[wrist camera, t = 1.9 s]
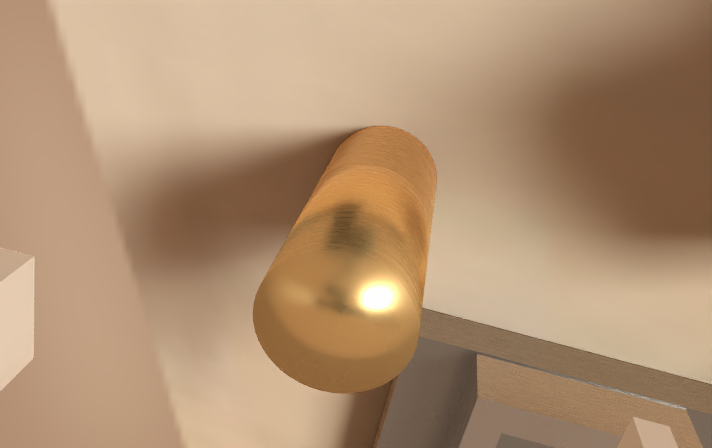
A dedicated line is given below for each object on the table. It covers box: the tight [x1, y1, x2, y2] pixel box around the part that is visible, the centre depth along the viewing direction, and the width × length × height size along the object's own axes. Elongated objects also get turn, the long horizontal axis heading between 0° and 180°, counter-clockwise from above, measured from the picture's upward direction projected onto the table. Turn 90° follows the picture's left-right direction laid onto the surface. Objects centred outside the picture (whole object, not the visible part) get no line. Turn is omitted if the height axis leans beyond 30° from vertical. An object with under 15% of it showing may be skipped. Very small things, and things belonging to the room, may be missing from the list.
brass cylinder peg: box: [253, 126, 437, 393], centre depth 20 cm, size 4×4×10 cm
